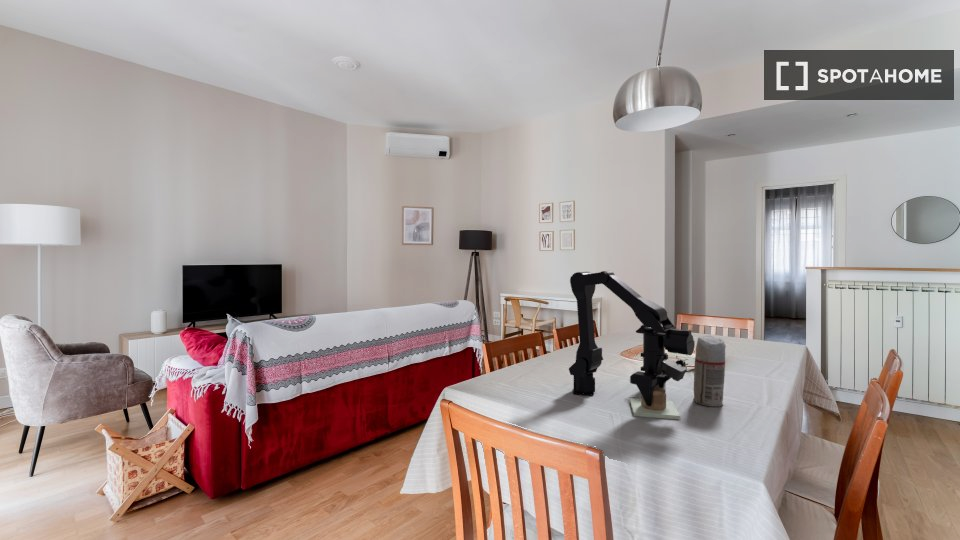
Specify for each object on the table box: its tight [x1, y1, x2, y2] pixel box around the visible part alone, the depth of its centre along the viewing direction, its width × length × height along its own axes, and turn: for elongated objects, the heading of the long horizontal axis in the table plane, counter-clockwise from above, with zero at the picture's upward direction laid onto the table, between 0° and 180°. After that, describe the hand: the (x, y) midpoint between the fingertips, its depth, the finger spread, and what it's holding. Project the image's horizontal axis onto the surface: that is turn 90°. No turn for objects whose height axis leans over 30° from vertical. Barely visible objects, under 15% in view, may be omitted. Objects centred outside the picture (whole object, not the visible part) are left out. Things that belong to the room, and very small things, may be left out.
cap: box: [640, 386, 667, 410], centre depth 123 cm, size 6×6×6 cm
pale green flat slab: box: [629, 397, 681, 420], centre depth 123 cm, size 12×12×4 cm
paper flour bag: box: [693, 335, 726, 407], centre depth 128 cm, size 8×8×20 cm
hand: (653, 403), depth 123 cm, fingers closed on cap, 6 cm apart
